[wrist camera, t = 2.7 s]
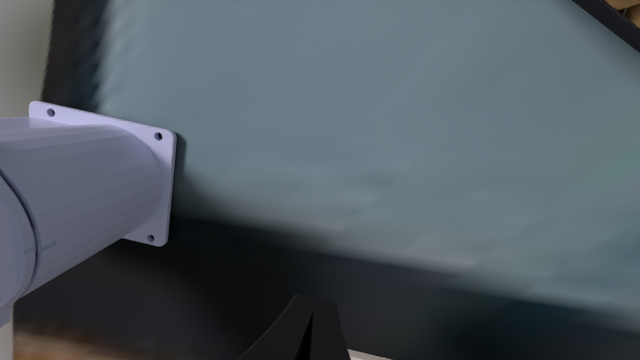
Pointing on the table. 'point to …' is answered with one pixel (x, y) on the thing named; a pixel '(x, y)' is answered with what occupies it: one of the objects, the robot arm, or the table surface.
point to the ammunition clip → (617, 17)
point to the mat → (364, 356)
